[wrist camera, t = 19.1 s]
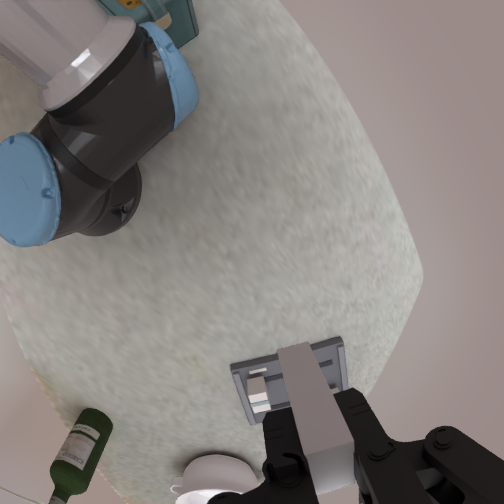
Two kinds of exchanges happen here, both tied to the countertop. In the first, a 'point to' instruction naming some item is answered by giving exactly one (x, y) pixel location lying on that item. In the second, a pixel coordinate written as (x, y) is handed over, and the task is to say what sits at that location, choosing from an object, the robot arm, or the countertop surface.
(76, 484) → the wine bottle
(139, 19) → the teal lunch box
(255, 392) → the fader high
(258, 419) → the console
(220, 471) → the pot
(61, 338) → the countertop surface
